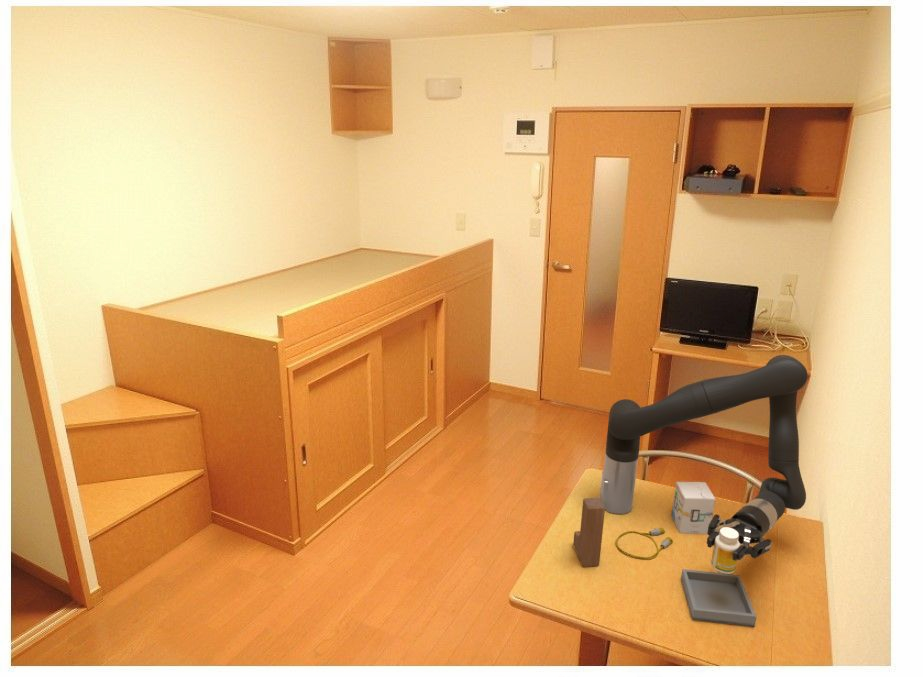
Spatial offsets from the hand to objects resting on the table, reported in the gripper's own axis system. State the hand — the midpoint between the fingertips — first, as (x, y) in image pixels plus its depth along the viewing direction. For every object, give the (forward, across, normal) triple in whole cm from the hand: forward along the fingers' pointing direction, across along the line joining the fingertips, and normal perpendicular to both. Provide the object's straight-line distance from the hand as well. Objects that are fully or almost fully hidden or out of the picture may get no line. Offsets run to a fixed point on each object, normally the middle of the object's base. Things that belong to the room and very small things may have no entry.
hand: (721, 550), depth 139 cm
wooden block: (+8, -31, +16) cm, 36 cm away
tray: (-2, 0, +16) cm, 16 cm away
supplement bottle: (-3, 0, +6) cm, 7 cm away
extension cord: (-8, -23, +17) cm, 30 cm away
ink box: (-25, -19, +17) cm, 36 cm away
